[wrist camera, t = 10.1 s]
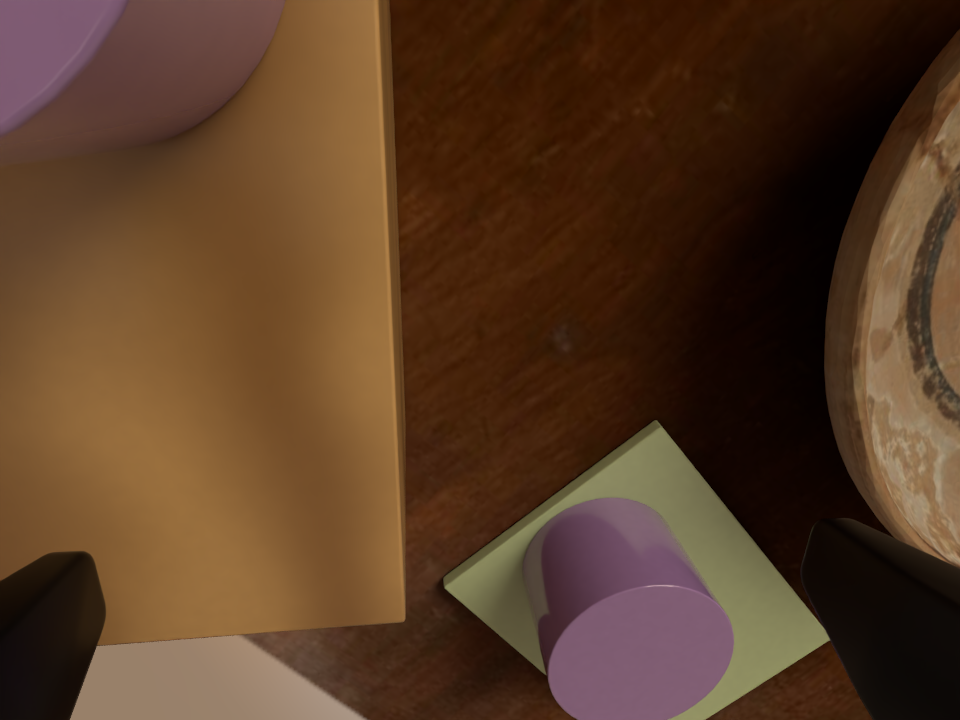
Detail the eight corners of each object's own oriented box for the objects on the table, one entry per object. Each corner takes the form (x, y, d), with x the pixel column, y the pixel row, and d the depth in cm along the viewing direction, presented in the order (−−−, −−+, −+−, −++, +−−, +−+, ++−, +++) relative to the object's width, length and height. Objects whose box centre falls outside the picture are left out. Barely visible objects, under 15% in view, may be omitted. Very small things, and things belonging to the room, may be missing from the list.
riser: (156, 428, 20) (-25, 657, 11) (24, -200, 14) (-555, -676, 5) (405, 418, 21) (405, 623, 12) (382, -177, 15) (353, -558, 6)
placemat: (442, 577, 23) (443, 588, 23) (655, 418, 22) (661, 426, 21) (638, 747, 28) (643, 759, 28) (823, 628, 27) (832, 639, 26)
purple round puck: (518, 630, 24) (542, 738, 20) (525, 501, 22) (553, 593, 18) (665, 618, 25) (718, 720, 20) (686, 492, 22) (750, 578, 18)
